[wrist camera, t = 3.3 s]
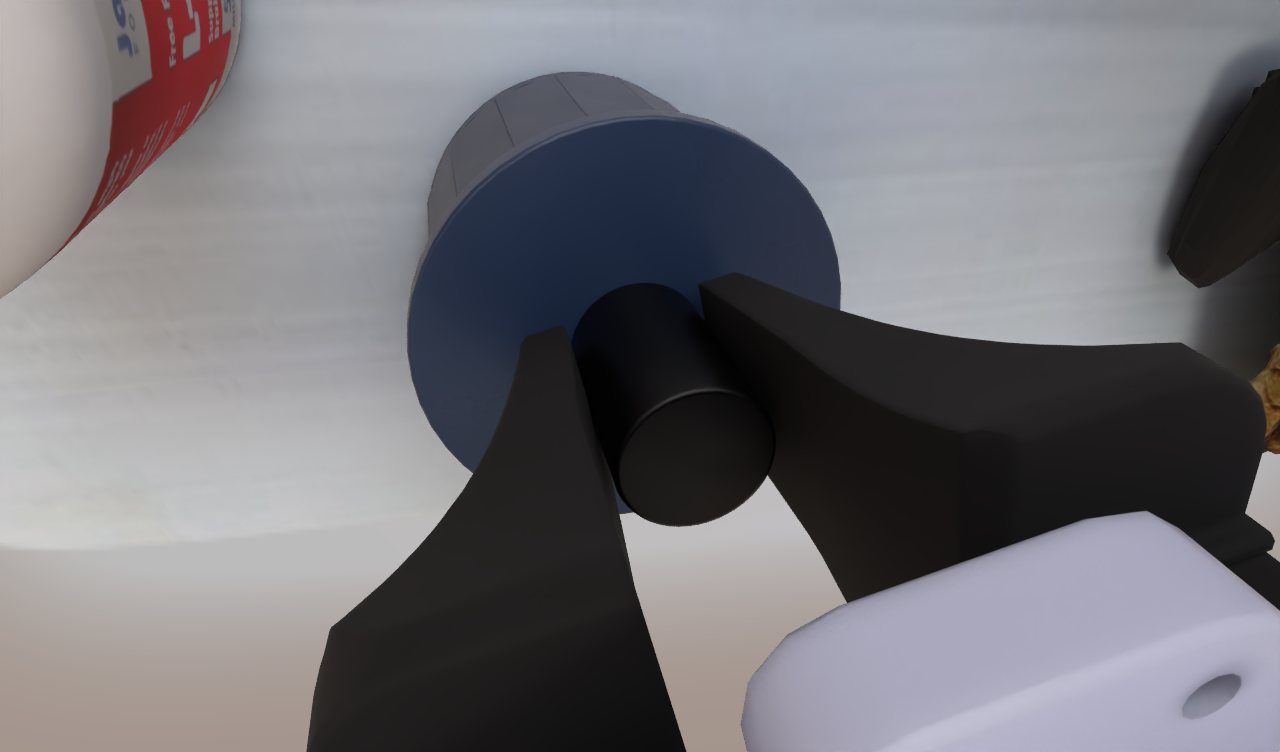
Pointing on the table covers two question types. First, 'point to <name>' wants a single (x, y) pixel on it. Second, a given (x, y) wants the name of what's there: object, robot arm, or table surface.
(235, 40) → the pill bottle
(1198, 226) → the gaming controller
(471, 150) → the tin
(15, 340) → the table surface
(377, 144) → the table surface
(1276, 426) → the pastry
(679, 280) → the lid
